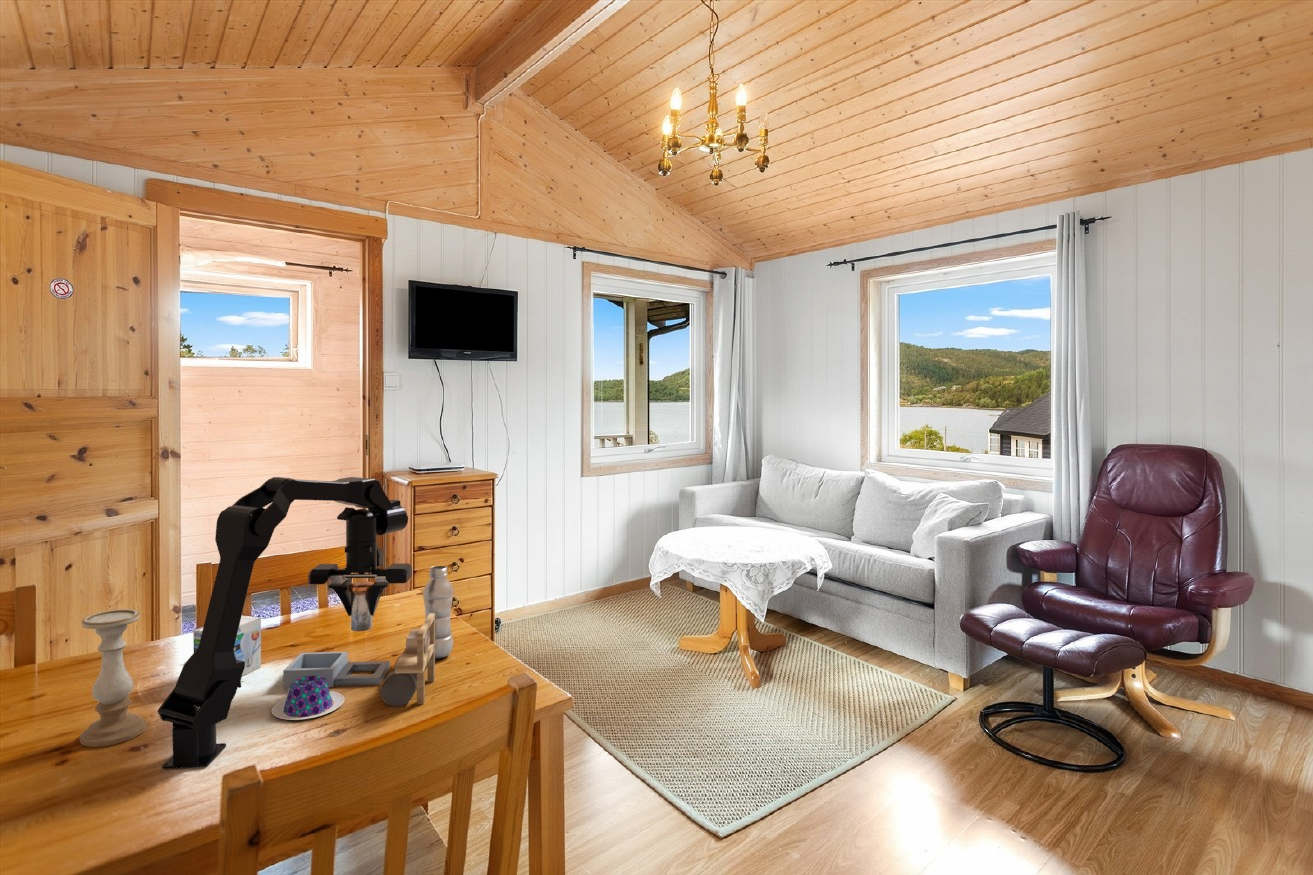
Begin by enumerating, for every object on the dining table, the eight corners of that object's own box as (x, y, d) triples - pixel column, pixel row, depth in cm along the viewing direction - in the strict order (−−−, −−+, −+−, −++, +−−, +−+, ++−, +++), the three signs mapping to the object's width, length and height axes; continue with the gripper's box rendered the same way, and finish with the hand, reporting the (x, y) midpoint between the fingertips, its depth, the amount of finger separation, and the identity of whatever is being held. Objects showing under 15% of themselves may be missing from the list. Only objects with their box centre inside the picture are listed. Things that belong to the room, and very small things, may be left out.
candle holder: (138, 717, 120) (136, 604, 119) (153, 733, 115) (151, 615, 114) (74, 735, 114) (70, 616, 112) (87, 753, 108) (83, 628, 107)
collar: (379, 684, 136) (379, 677, 136) (334, 686, 135) (334, 678, 135) (390, 667, 144) (390, 660, 144) (347, 669, 143) (347, 662, 143)
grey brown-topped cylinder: (371, 631, 137) (371, 587, 137) (345, 632, 136) (345, 588, 136) (376, 623, 142) (377, 581, 141) (352, 624, 141) (352, 581, 140)
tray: (333, 687, 135) (332, 669, 134) (283, 688, 133) (283, 670, 133) (347, 668, 144) (347, 651, 143) (301, 669, 142) (301, 652, 142)
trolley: (422, 705, 128) (423, 633, 127) (380, 707, 127) (380, 634, 126) (435, 678, 140) (435, 612, 139) (396, 679, 139) (396, 613, 138)
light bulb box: (221, 687, 133) (220, 633, 132) (192, 684, 134) (191, 630, 134) (262, 666, 144) (262, 616, 143) (235, 663, 145) (234, 613, 144)
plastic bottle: (415, 658, 150) (415, 568, 149) (438, 648, 156) (438, 562, 155) (436, 664, 147) (437, 573, 146) (459, 654, 153) (460, 566, 152)
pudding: (306, 690, 133) (306, 664, 133) (358, 699, 130) (358, 672, 130) (255, 718, 122) (255, 689, 121) (311, 728, 119) (311, 699, 118)
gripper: (417, 531, 147) (417, 602, 148) (326, 531, 145) (326, 603, 146) (406, 542, 136) (405, 619, 137) (307, 542, 134) (307, 621, 135)
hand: (361, 615), depth 139 cm, fingers closed on grey brown-topped cylinder, 4 cm apart
